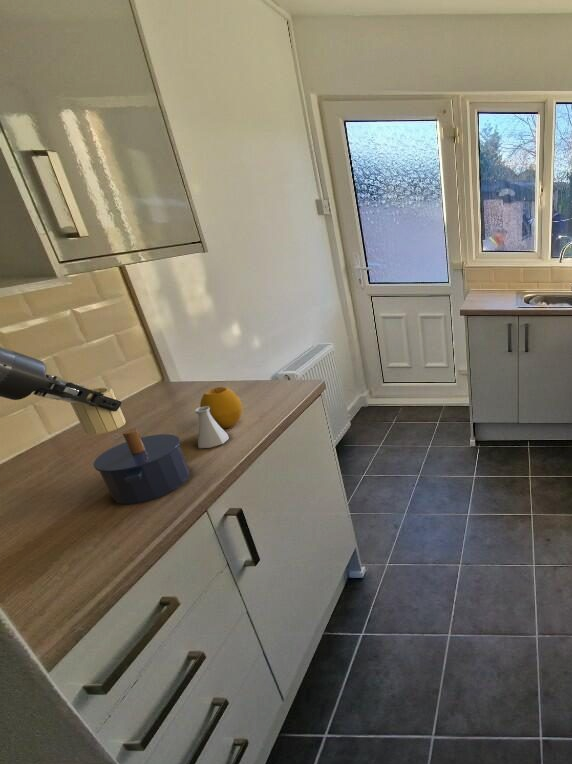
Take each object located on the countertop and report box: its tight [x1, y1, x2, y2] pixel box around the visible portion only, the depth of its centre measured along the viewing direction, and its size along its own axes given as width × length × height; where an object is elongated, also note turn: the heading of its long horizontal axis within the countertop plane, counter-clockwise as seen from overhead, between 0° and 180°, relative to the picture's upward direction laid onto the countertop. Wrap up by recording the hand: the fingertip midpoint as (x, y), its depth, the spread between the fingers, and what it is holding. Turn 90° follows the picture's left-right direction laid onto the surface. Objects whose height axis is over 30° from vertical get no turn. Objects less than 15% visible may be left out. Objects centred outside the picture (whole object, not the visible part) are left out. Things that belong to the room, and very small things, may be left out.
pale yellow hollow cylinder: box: [68, 386, 127, 436], centre depth 81 cm, size 6×6×8 cm
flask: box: [194, 406, 230, 449], centre depth 109 cm, size 7×7×10 cm
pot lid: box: [93, 428, 181, 473], centre depth 90 cm, size 15×15×6 cm
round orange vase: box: [199, 386, 243, 429], centre depth 118 cm, size 10×10×12 cm
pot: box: [99, 444, 190, 505], centre depth 93 cm, size 14×19×8 cm
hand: (106, 404), depth 82 cm, fingers closed on pale yellow hollow cylinder, 6 cm apart
